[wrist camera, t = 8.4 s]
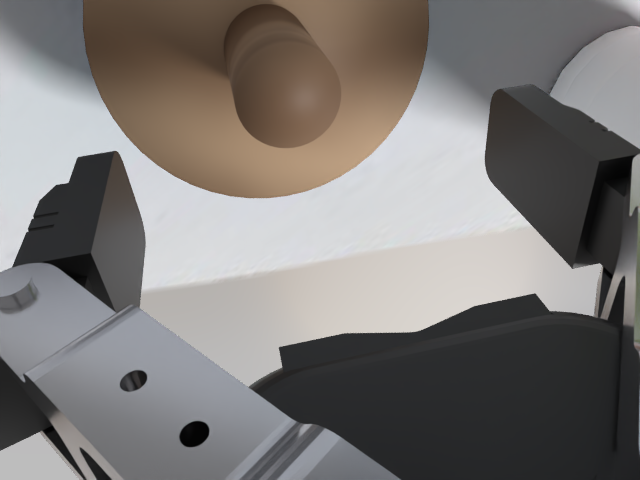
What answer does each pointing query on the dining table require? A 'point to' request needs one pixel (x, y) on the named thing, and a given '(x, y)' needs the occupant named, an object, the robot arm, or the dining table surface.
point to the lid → (256, 84)
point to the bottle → (606, 82)
